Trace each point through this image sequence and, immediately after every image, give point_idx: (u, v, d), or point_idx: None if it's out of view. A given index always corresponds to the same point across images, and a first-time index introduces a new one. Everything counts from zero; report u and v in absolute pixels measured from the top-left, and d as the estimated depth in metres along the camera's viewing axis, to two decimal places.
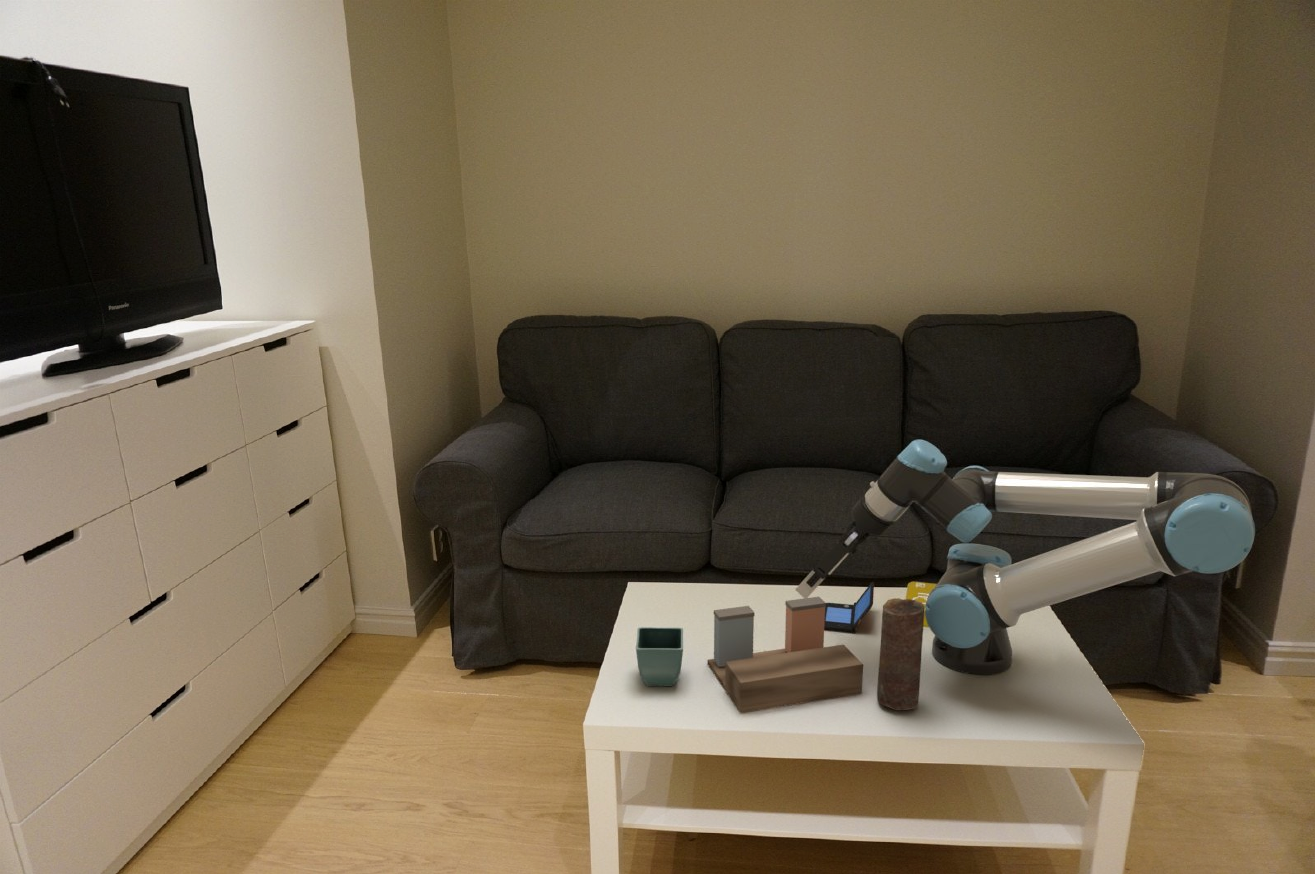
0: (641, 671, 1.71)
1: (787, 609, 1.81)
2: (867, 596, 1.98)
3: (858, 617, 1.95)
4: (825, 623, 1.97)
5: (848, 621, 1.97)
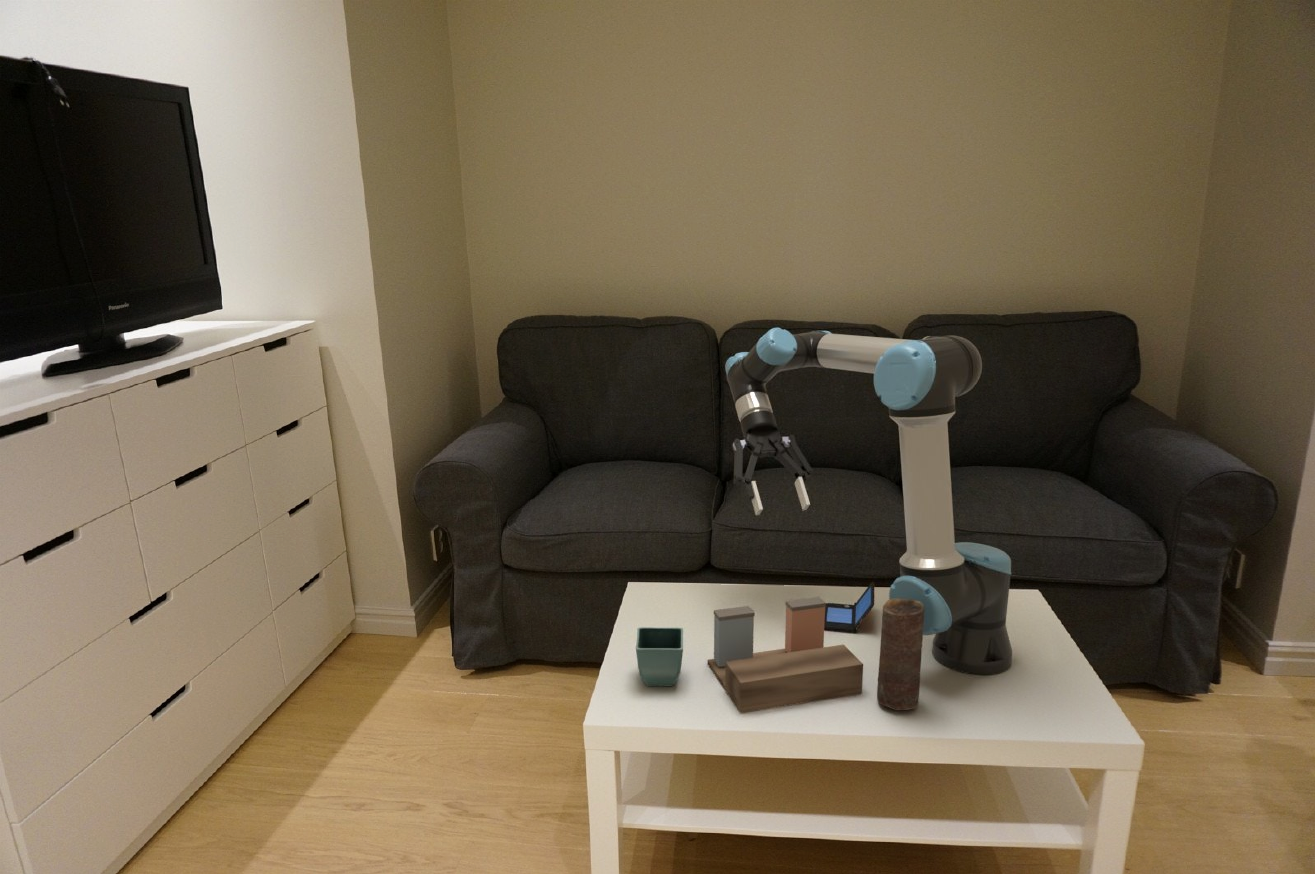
0: (641, 671, 1.71)
1: (787, 609, 1.81)
2: (868, 596, 1.98)
3: (859, 617, 1.95)
4: (826, 623, 1.96)
5: (849, 621, 1.97)
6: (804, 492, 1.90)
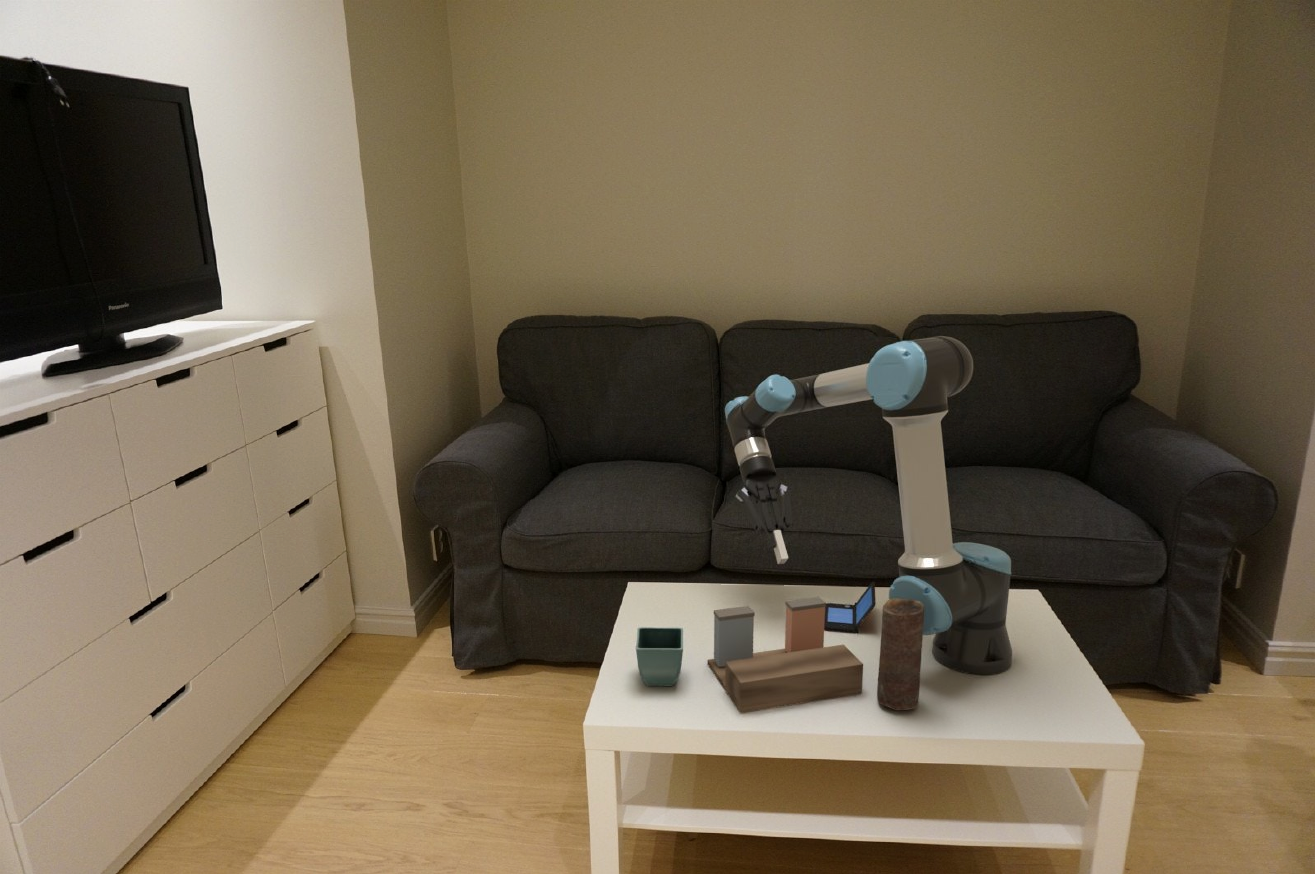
0: (641, 671, 1.71)
1: (787, 609, 1.81)
2: (868, 596, 1.98)
3: (860, 617, 1.95)
4: (827, 624, 1.96)
5: (850, 621, 1.97)
6: (782, 546, 1.91)
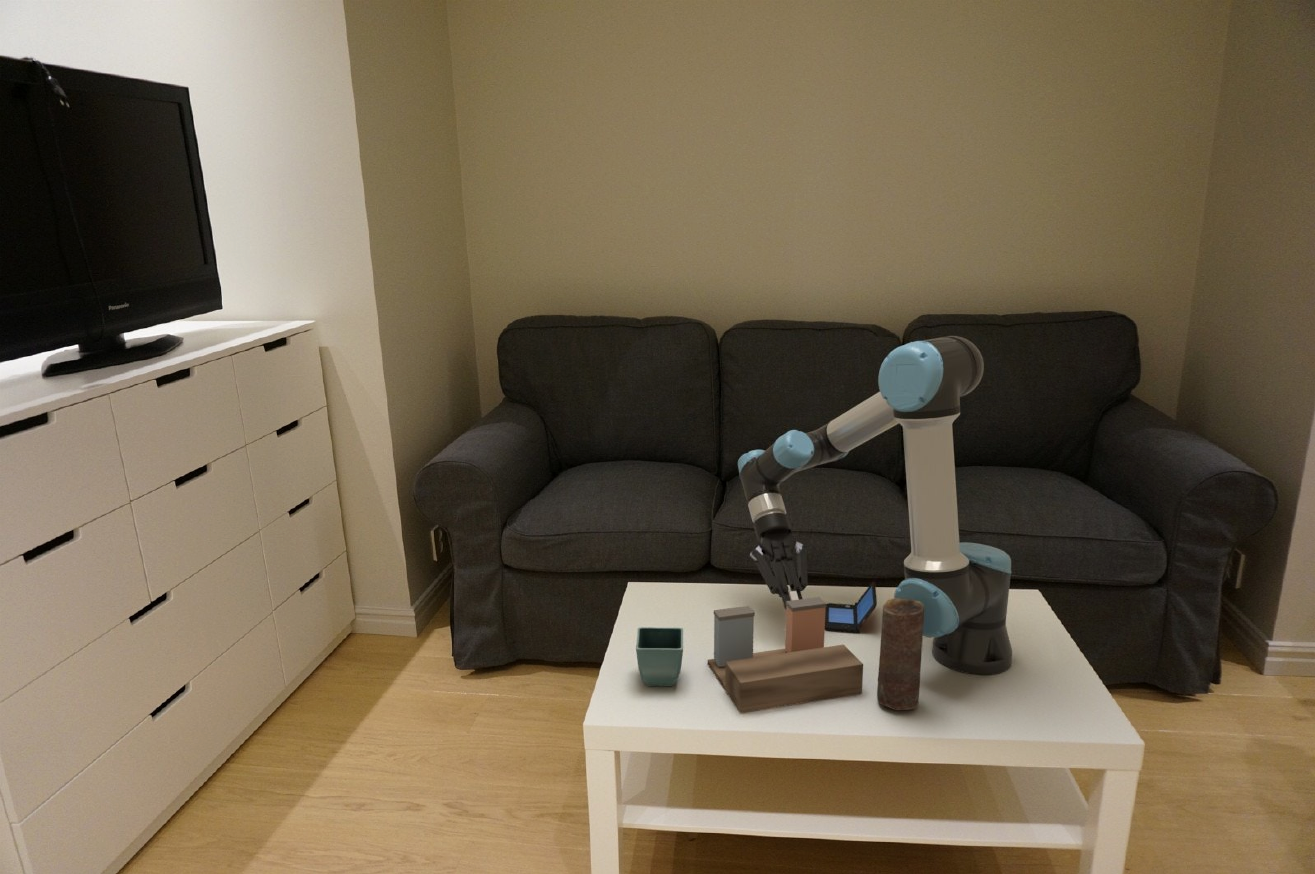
0: (641, 671, 1.71)
1: (787, 609, 1.81)
2: (869, 596, 1.99)
3: (862, 617, 1.95)
4: (829, 624, 1.96)
5: (851, 621, 1.97)
6: None
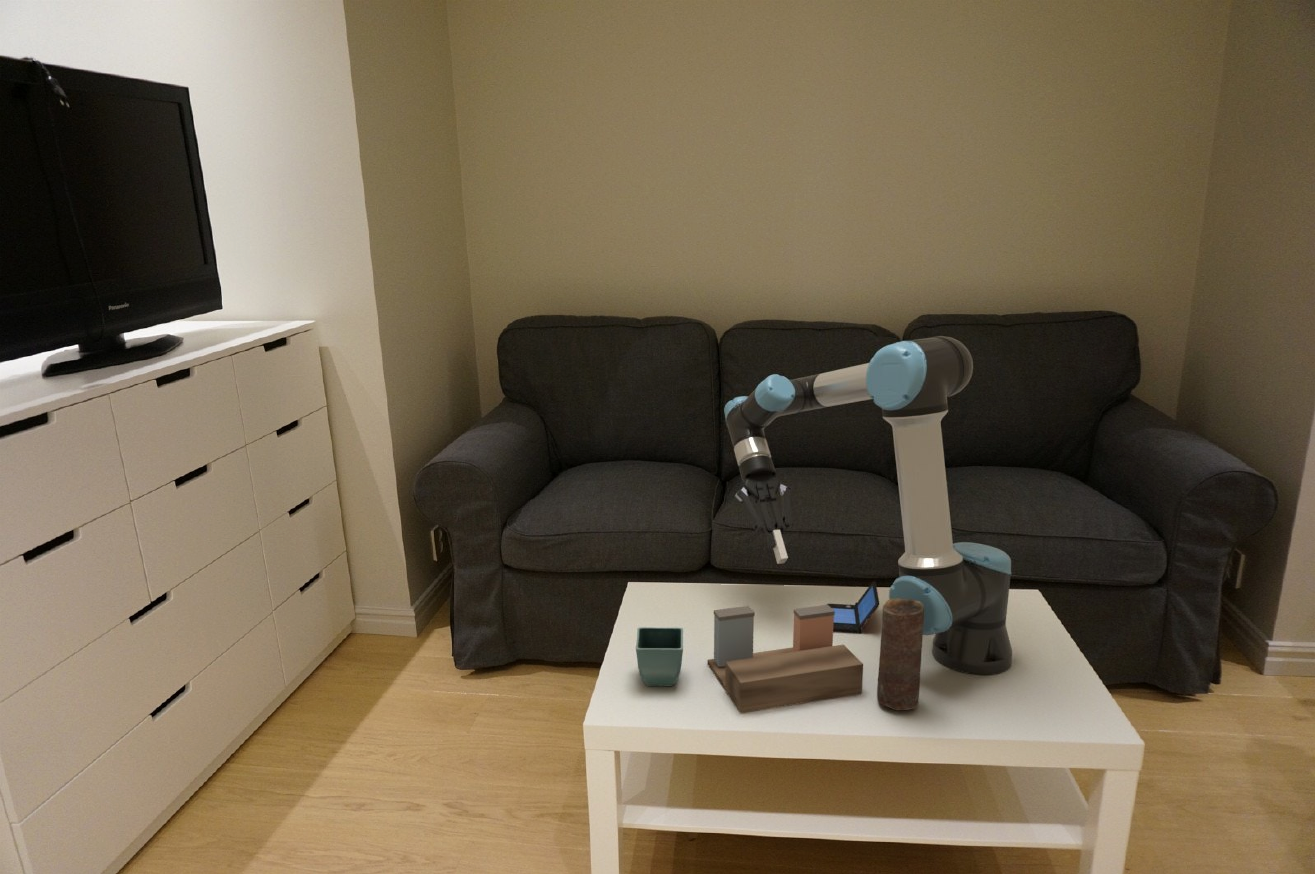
0: (641, 671, 1.71)
1: (795, 617, 1.78)
2: (871, 596, 1.99)
3: (864, 617, 1.95)
4: None
5: (853, 621, 1.97)
6: (782, 545, 1.91)
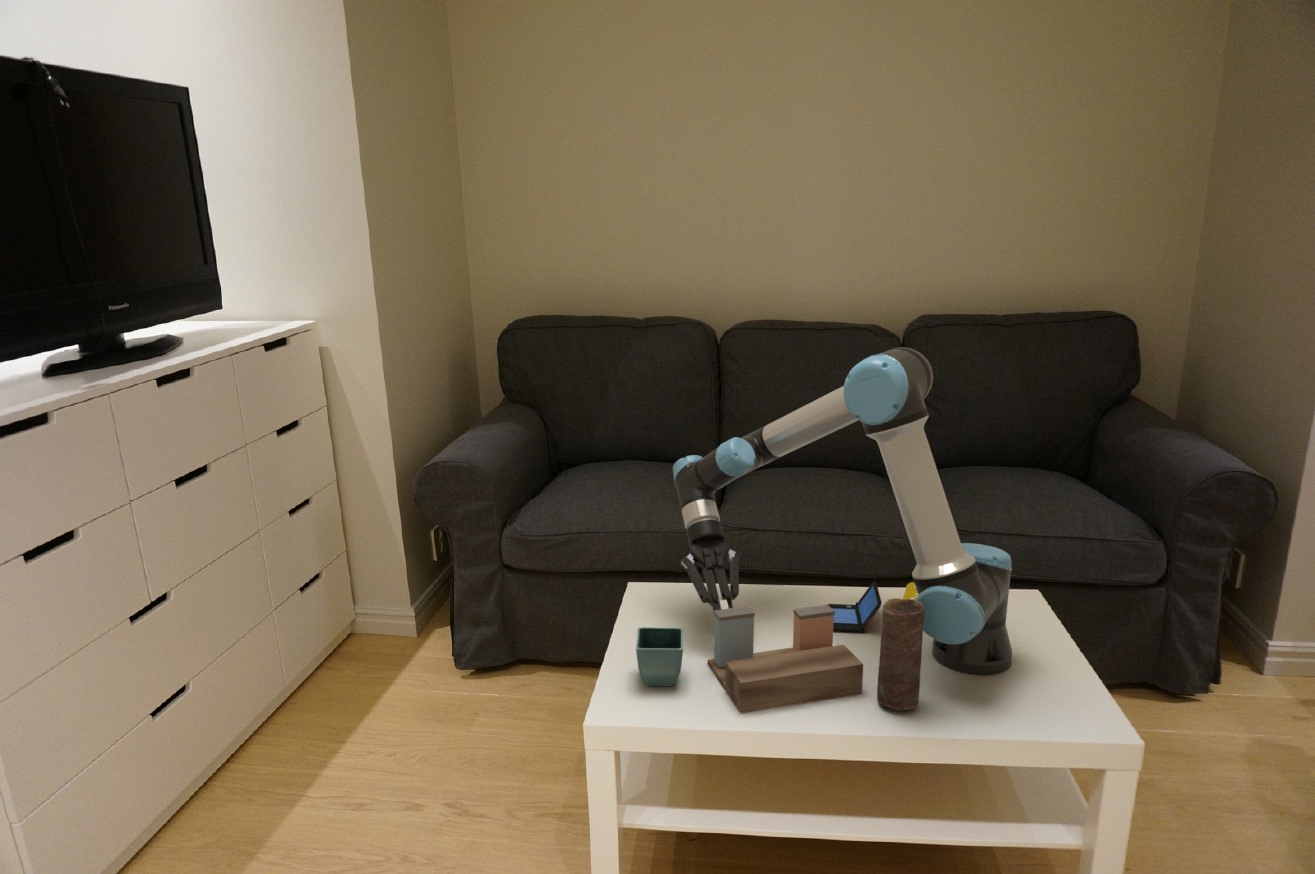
0: (641, 671, 1.71)
1: (795, 617, 1.78)
2: (872, 595, 1.99)
3: (866, 617, 1.95)
4: (833, 625, 1.96)
5: (855, 621, 1.97)
6: None
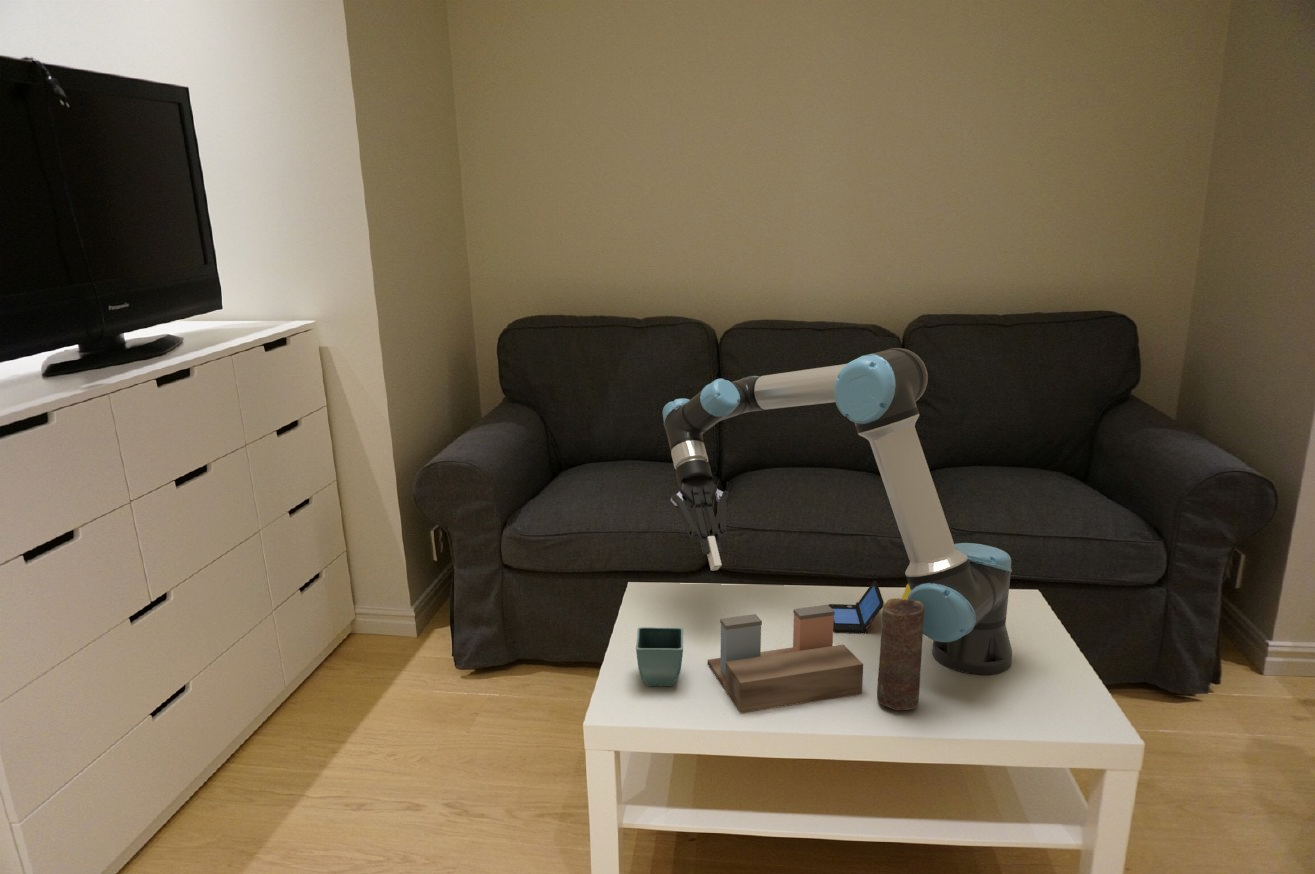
0: (641, 671, 1.71)
1: (795, 617, 1.78)
2: (873, 595, 1.99)
3: (868, 617, 1.95)
4: (835, 625, 1.96)
5: (857, 622, 1.97)
6: (716, 552, 1.88)
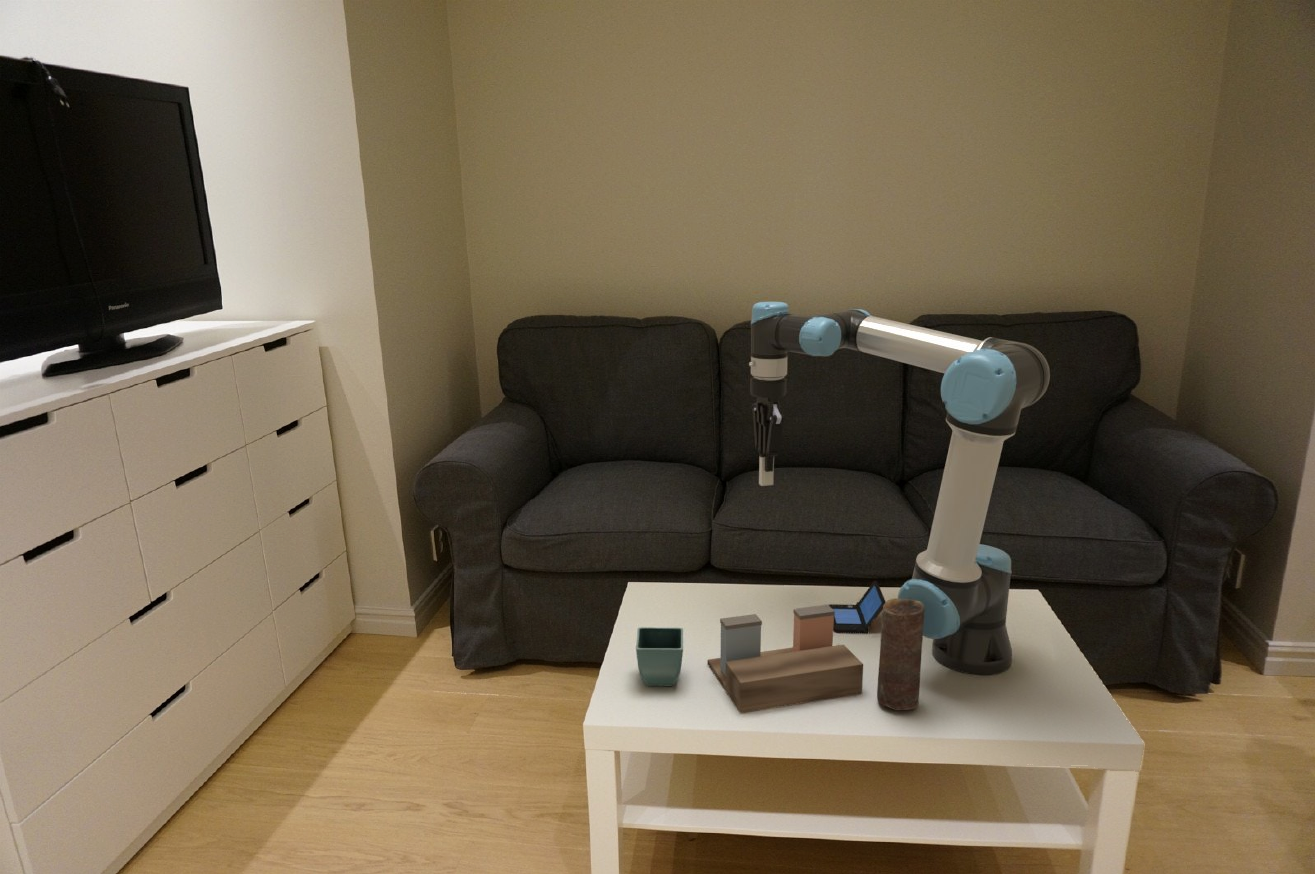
0: (641, 671, 1.71)
1: (795, 617, 1.78)
2: (874, 595, 1.99)
3: (870, 617, 1.95)
4: (837, 625, 1.95)
5: (858, 622, 1.97)
6: None
